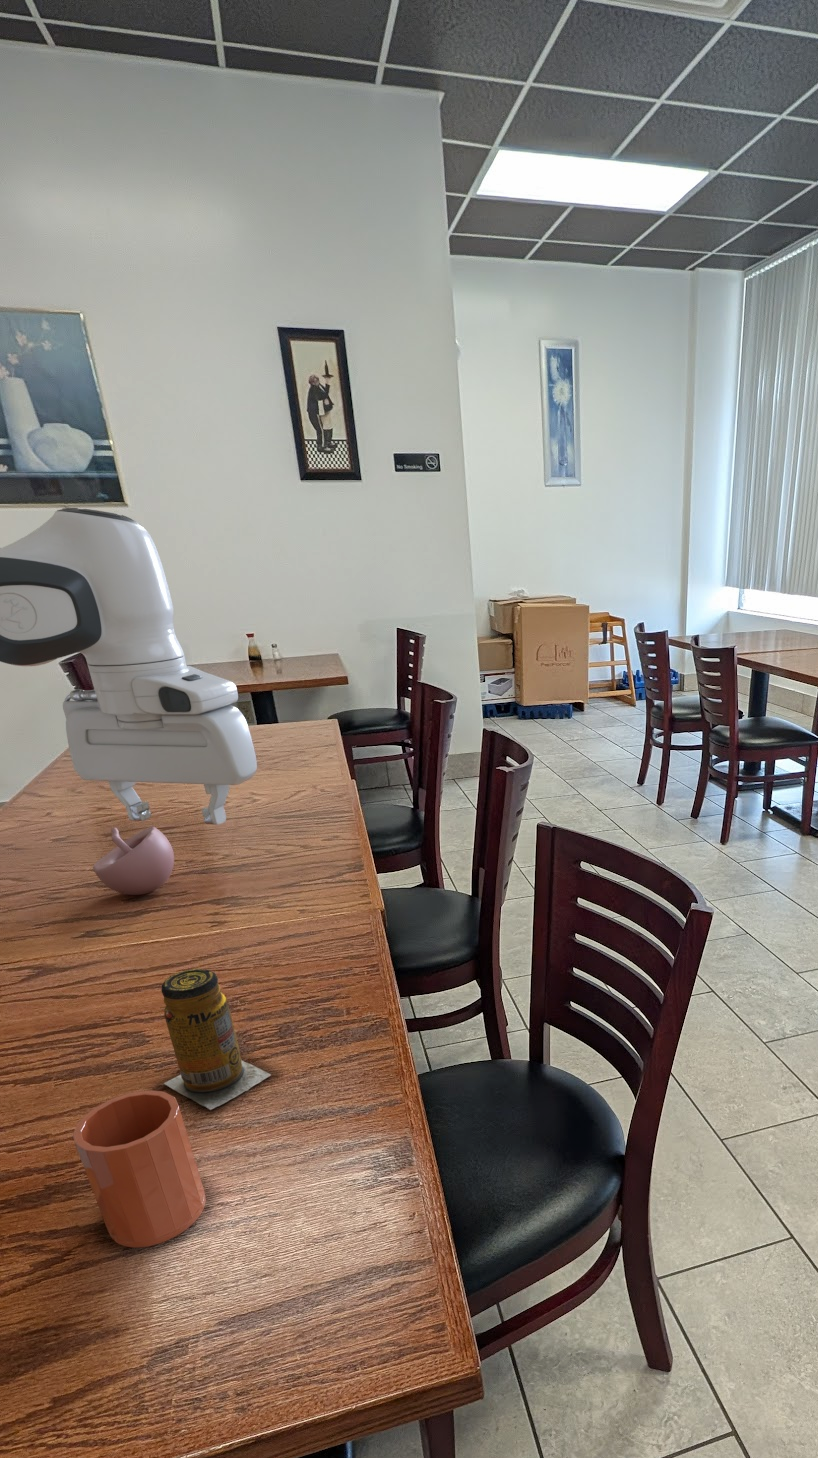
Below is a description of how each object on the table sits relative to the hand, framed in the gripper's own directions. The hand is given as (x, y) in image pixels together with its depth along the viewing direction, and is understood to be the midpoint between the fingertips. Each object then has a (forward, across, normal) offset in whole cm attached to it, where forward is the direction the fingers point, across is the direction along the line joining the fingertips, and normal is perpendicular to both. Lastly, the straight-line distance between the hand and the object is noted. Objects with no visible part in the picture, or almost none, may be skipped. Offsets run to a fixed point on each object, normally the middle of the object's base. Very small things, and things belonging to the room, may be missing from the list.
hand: (178, 821), depth 89 cm
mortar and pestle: (+25, -38, +32) cm, 56 cm away
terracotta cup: (+24, +14, -30) cm, 41 cm away
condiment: (+25, +7, -12) cm, 28 cm away
